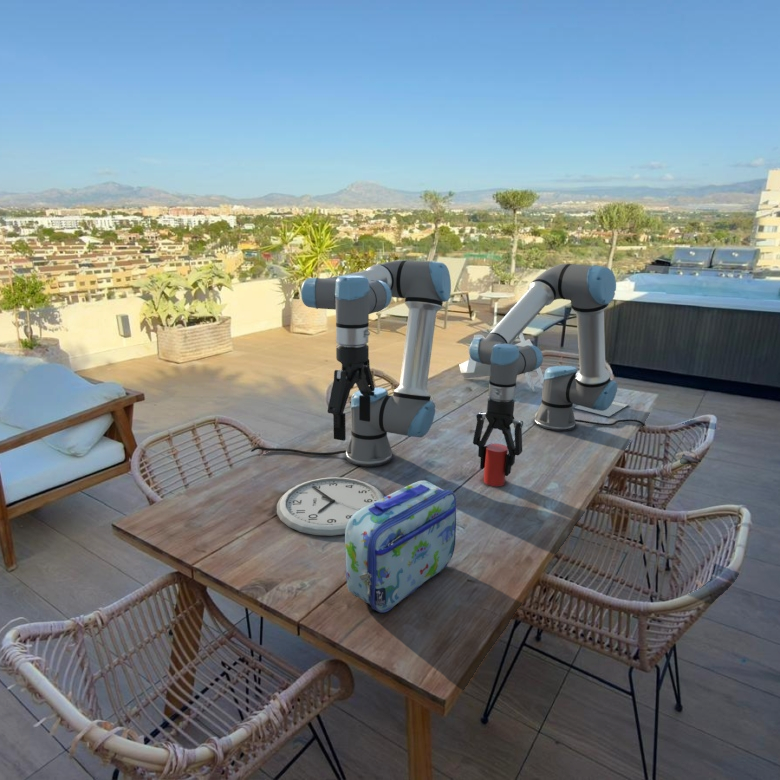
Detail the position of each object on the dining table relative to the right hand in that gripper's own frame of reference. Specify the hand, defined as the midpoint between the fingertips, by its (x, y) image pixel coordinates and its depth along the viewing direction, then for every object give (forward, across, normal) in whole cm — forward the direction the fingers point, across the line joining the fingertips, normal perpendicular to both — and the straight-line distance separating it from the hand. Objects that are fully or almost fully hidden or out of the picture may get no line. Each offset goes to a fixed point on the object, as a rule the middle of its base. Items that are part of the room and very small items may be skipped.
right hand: (495, 470), depth 157 cm
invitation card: (+4, +10, +93) cm, 93 cm away
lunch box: (+4, +2, -56) cm, 56 cm away
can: (+4, 0, 0) cm, 4 cm away
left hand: (-22, -21, -42) cm, 52 cm away
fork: (+4, -51, +48) cm, 70 cm away
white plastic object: (+4, -39, +96) cm, 104 cm away
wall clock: (+4, -31, -39) cm, 50 cm away
